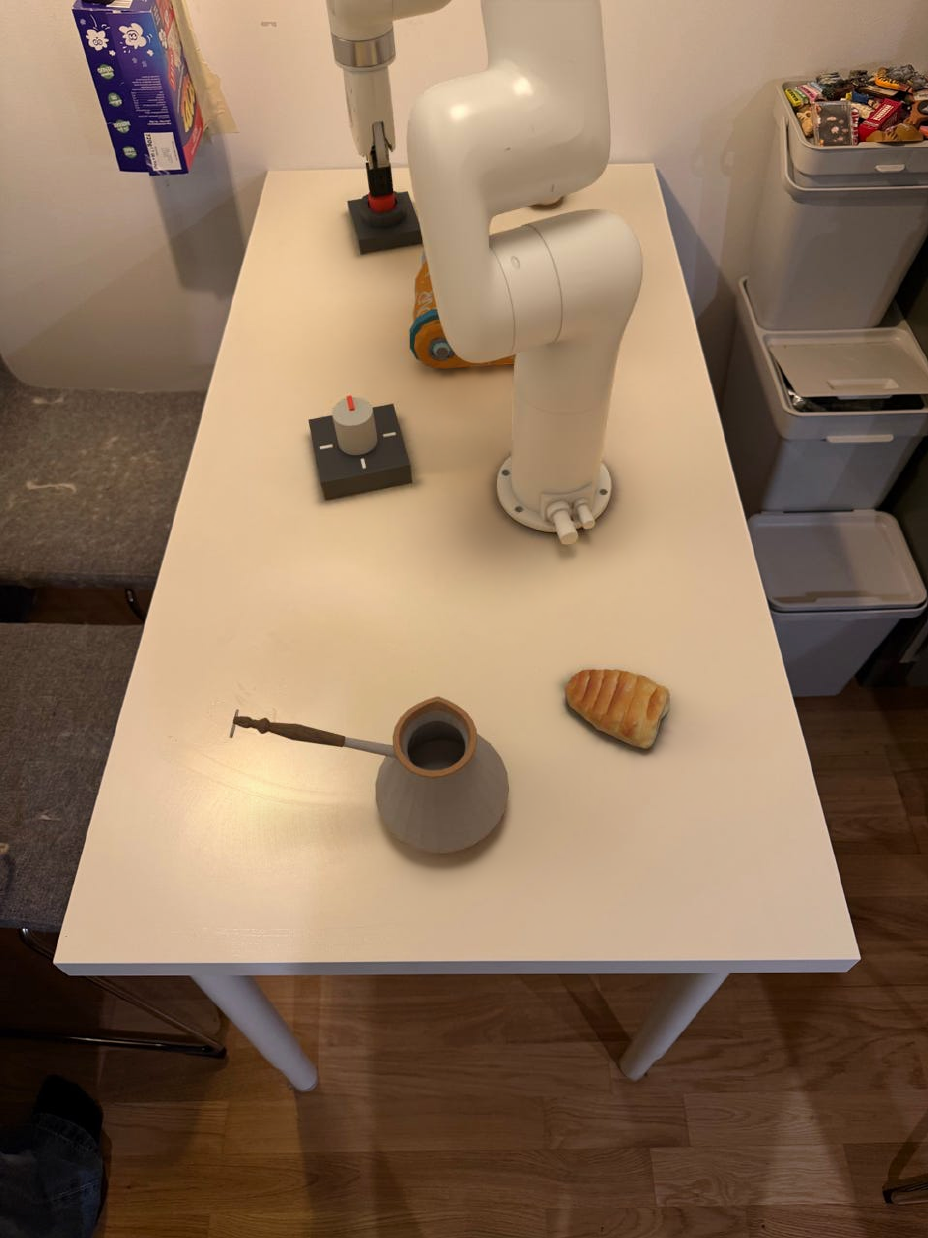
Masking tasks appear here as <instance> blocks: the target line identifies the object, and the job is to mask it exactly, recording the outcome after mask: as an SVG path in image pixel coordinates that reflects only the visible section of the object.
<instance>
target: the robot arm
mask: <svg viewBox="0 0 928 1238" xmlns="http://www.w3.org/2000/svg"><path fill="white" fill-rule="evenodd" d="M451 2H452V0H325V5H326V8H327V9H326V11H327V17H328V24H329V31H330V38H331V45H332V51H333V58H334V63H335V64H336V66H337V67H339V68H340V69H341V70H342V72H343V82H344V83H343V84H344V90H345V91H344V92H345V98H346V107H347V117H348V125H349V129H350V130H349V131H350V133H351V136H352V139H353V142H354V145H355V148H356V151H357V154H358V155H359V156H360V157H361V158H365V159H366V162H365V170H366V177H367V178H366V179H367V184H368V185H367V186H368V192H370V194H371V196H372V197H377V196H383V195H389V194H393V192H394V191H395V190H394V181H393V174H392V173H393V171H392V164H391V161H390V153H393V152H394V151H395V150H396V147H397V145H396V144H397V143H396V129H395V117H394V107H393V99H392V98H393V97H392V90H391V89H392V88H391V81H390V71H389V66H391V64H393V63H394V62H395V60H396V58H397V53H396V51H397V50H396V42H395V41H396V40H395V39H396V38H395V30H394V29H395V28H394V21H395V22H396V21H398V20H399V21H400V20H404V19H408V18H414V17H418V16H423V15H429V14H433V13H436V12H438V11H440V10H442V9H444V8H446V7H447V6H448V5H449V4H450V3H451ZM601 5H602V4H601V0H480V9H481V15H482V16H481V17H482V22H483V30H484V34H485V43H486V49H487V66H486V70H485V71H481V72H477V73H473V74H468V75H465V76H461V77H455V78H453V79H449V80H445V81H442V82H438V83H437V84H434V85H431V86H430V87H428V88H427V89H426V90H424V91H423V92H422V93H420V95H419V96H418V97H417V98H416V100H415V101H414V103H413V105H412V107H411V109H410V112H409V115H408V120H407V125H406V127H407V128H406V137H405V138H406V157H407V165H408V171H409V177H410V182H411V183H410V184H411V189H412V194H413V198H414V204H415V209H416V215H417V218H418V221H419V224H420V229H421V234H422V239H423V244H422V245H423V248H424V251H425V253H426V258H427V263H428V268H429V273H430V278H431V283H432V288H433V293H434V298H435V302H436V307H437V311H438V315H439V319H440V323H441V326H442V329H443V332H444V334H445V337H446V339H447V341H448V343H449V345H450V347H451V348H452V350H453V351H454V352H455V353H456V355H457V356H459V357H460V358H461V359H463V360H465V361H468V362H471V363H484V362H489V361H493V360H498V359H501V358H504V357H508V356H511V355H514V354H516V358H515V364H513V382H512V383H513V384H512V385H513V386H512V387H513V388H512V421H511V422H512V423H511V424H512V427H511V455H509V457H507V459H505V461H504V462H503V463H502V465H501V466H500V468H499V471H498V473H497V479H496V493H497V497H498V500H499V503H500V505H501V507H502V508H503V509H504V511H505V512H506V513H507V514H508V515H509V516H510V517H511V518H513V520H514V521H516V522H518V523H520V524H522V525H523V526H525V527H528V528H530V529H533V530H536V531H543V532H547V533H549V532H550V533H557V536H558V538H559V541H560V543H561V544H562V545H571V544H574V543H575V542H576V541H578V539H579V533H578V531H577V530H579V529H580V528H583V529H584V530H590V529H592V528H594V527H595V526H596V520H597V519H598V518H599V517H600V516H601V515H602V514H603V513H604V511H605V510H606V509H607V506H609V505H608V504H609V501H610V499H611V493H612V478H611V474H610V472H609V469H608V468H607V466H606V465H605V463H604V462H603V461H602V460H603V453H604V445H605V440H606V432H607V426H608V421H609V413H610V407H611V400H612V392H613V388H614V382H615V375H616V369H617V363H618V357H619V354H620V349H621V345H622V341H623V339H624V335H625V332H626V329H627V326H628V325H629V322H630V320H631V317H632V314H633V312H634V309H635V307H636V304H637V301H638V298H639V295H640V290H641V286H642V281H643V273H644V271H643V270H644V261H643V252H642V247H641V244H640V241H639V237H638V236H637V234H636V232H635V230H634V229H633V227H632V226H631V225H630V223H629V222H628V221H627V220H626V219H624V217H622V216H621V215H618V214H616V213H615V212H613V211H611V210H610V211H609V210H606V209H599V208H588V209H578V210H574V211H568V212H563V213H560V214H557V215H553V216H550V217H546V218H543V219H540V220H539V219H538V220H535V221H532V222H528V223H526V224H522V225H521V226H517V227H513V228H510V229H506V230H503V231H500V232H496V233H495V232H494V233H492V234H490V231H491V230H490V229H491V223H492V220H493V218H494V217H496V216H498V215H501V214H504V213H509V212H512V211H516V210H520V209H523V208H527V207H530V206H534V205H538V203H541V202H545V201H548V200H552V199H555V198H559V197H561V198H563V197H565V196H569V195H571V194H573V193H574V194H575V193H576V192H579V191H582V190H584V189H586V188H587V187H590V186H591V185H593V184H594V183H596V182H597V181H598V180H599V179H600V178H601V177H602V176H603V174H604V173H605V171H606V169H607V167H608V163H609V160H610V157H611V156H610V155H611V144H612V140H611V139H612V138H611V137H612V136H611V114H610V102H609V89H608V75H607V64H606V51H605V39H604V29H603V27H604V26H603V16H602V6H601Z"/></svg>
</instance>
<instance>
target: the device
mask: <svg viewBox="0 0 928 1238" xmlns="http://www.w3.org/2000/svg"><path fill="white" fill-rule="evenodd" d="M408 331H409V332H408V333H409V349H410V351H411V353H412V354H413V356H414V358H415V359H416V360H417V361H419V362H420V363H423V364H424V365H426V366H427V367H430V368H432V369H454V368H466V367H484V366H485V367H486V366H500V365H501V366H502V365H514V364H515V358H516V354H514V355H511V356H508V357H504V358H501V359H498V360H493V361H489V362H484V363H471V362H468V361H465V360H463V359H461V358H460V357H459V356H457V355H456V353H455V352H454V351H453V350H452V348H451V347H450V345H449V343H448V341H447V339H446V337H445V334H444V332H443V329H442V326H441V323H440V319H439V315H438V311H437V307H436V302H435V298H434V293H433V288H432V283H431V278H430V273H429V268H428V263H427V258H426V253H425V250H423V252H422V256H421V267H420V269H419V271H418V273H417V275H416V277H415V279H414V305H413V311H412V325H411V326H410V327H409V330H408Z"/></svg>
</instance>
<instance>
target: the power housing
mask: <svg viewBox="0 0 928 1238" xmlns="http://www.w3.org/2000/svg"><path fill="white" fill-rule="evenodd" d="M393 191H394V196H395V207H394V208H393V209H391V210H389V211H383V212H379V211H374V210H372V209H371V208H370V203H369V196H368V194H369V193H367V194H365V195H363V196H362V197H361V198H355V199H351V200H347V202H346V203H347V210H348V215H349V220H350V222H351V226H352V229H353V233H354V236H355V240H356V243H357V247H358V250H359V253H360V255H365V254H370V253H377V252H382V251H388V250H395V249H400V248H407V247H412V246H413V247H414V246H419V245H424V244H423V239H422V234H421V229H420V224H419V219H418V214H417V212H416V210H415V207H414V205H413V201H412V199H411V197H410V193H409V191H408V190H407V191H401V192H398V191H396V190H393Z"/></svg>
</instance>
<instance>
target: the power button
mask: <svg viewBox="0 0 928 1238" xmlns="http://www.w3.org/2000/svg"><path fill="white" fill-rule="evenodd" d="M367 194H368V196H369V203H370V208H371V209H372V210H374V211H379V212H383V211H389V210H391V209H393V208H394V207H395V196H394V192H393V194H389V195H383V196H377V197H372V196H371V194H370V191H368V193H367Z"/></svg>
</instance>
